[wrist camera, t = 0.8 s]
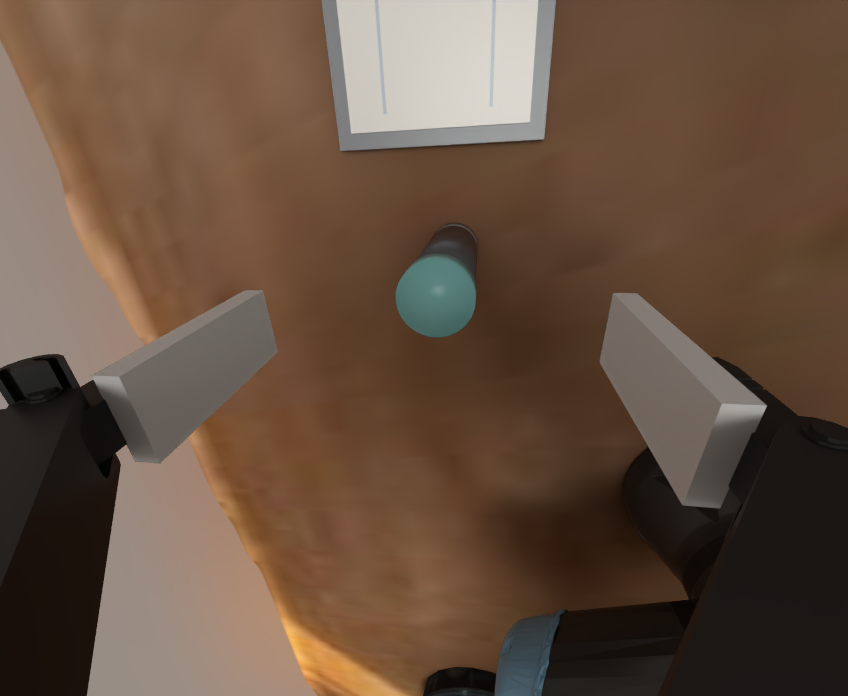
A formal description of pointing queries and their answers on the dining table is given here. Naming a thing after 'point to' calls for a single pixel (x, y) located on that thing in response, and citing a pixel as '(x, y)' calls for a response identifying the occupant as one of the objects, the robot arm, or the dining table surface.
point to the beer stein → (461, 683)
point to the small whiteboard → (438, 71)
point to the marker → (440, 283)
